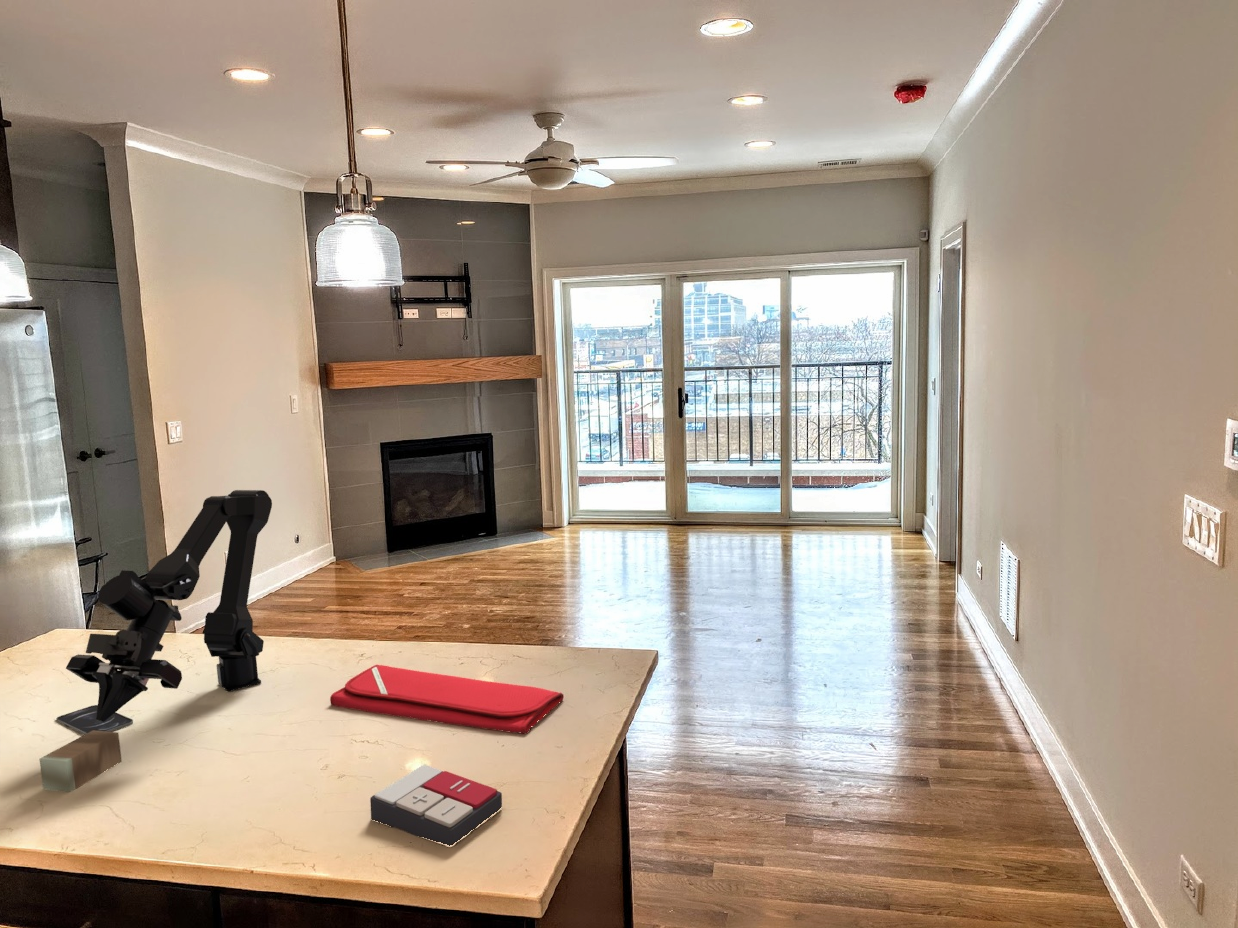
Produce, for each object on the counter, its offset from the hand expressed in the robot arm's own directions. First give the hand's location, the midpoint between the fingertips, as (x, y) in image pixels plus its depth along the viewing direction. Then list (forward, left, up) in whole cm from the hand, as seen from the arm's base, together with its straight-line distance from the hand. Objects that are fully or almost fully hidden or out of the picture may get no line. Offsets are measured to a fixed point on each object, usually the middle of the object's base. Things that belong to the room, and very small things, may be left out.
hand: (99, 720), depth 141 cm
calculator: (-33, +52, -8) cm, 62 cm away
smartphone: (-1, -20, -8) cm, 22 cm away
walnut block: (-1, -1, -5) cm, 5 cm away
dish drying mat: (-53, +17, -8) cm, 56 cm away
